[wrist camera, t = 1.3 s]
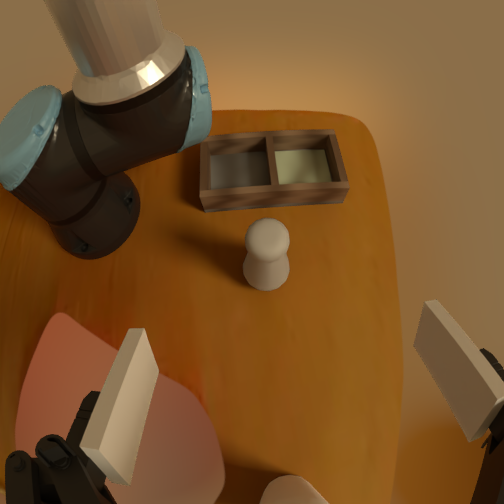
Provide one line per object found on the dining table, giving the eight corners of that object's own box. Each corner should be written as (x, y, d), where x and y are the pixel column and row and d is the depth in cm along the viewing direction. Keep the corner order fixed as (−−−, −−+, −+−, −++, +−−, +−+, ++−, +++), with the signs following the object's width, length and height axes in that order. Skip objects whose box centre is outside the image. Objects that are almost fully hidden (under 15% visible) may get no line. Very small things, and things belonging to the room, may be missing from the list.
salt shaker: (242, 254, 43) (234, 209, 30) (284, 250, 43) (293, 204, 30) (246, 297, 41) (238, 267, 28) (290, 292, 41) (302, 261, 28)
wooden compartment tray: (205, 212, 45) (199, 197, 41) (205, 154, 48) (200, 137, 44) (342, 202, 45) (349, 187, 41) (329, 146, 48) (333, 129, 44)
